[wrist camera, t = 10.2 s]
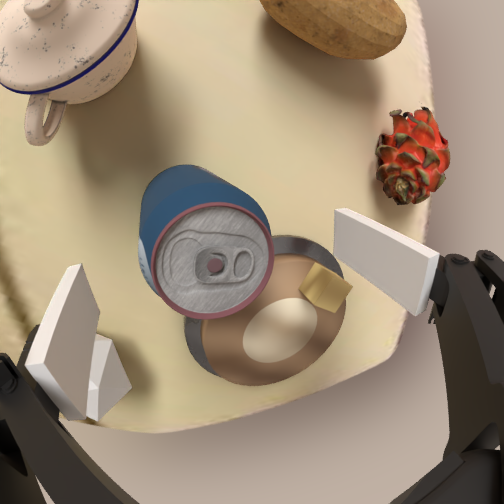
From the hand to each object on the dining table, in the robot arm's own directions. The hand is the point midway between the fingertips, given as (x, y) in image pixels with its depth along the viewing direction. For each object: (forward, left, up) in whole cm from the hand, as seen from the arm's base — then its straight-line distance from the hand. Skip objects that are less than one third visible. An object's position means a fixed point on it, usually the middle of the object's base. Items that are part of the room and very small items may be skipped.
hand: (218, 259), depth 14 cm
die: (-13, -12, -11) cm, 21 cm away
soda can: (0, 0, -11) cm, 11 cm away
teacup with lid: (-7, +13, -11) cm, 19 cm away
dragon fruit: (+23, +3, -11) cm, 26 cm away
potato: (+13, +17, -11) cm, 24 cm away
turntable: (+7, -14, -11) cm, 19 cm away
